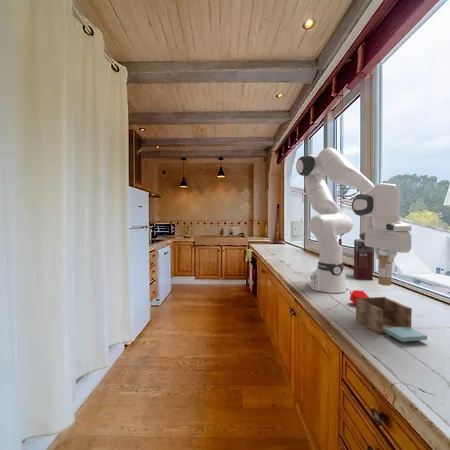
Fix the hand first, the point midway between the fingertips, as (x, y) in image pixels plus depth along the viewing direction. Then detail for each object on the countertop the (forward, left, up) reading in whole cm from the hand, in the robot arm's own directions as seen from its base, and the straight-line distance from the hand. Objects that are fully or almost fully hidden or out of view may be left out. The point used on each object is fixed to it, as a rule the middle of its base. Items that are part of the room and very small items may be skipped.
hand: (384, 260), depth 101 cm
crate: (+10, -9, -21) cm, 25 cm away
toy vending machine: (-53, +29, -21) cm, 64 cm away
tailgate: (+16, -9, -20) cm, 27 cm away
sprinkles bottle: (0, 0, -9) cm, 9 cm away
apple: (-11, -3, -21) cm, 24 cm away
